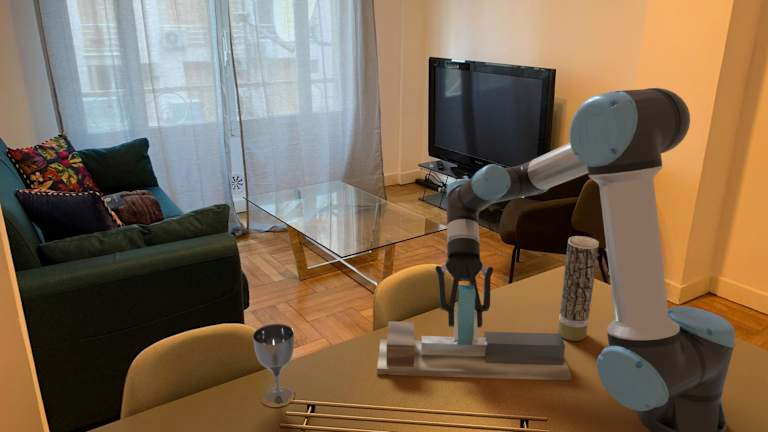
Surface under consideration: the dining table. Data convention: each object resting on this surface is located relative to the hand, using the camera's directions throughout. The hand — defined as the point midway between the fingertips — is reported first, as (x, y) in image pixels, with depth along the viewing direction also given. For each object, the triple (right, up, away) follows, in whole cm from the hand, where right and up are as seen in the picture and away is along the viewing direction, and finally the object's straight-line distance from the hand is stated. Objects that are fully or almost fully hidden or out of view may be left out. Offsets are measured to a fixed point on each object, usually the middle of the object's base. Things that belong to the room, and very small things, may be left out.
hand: (465, 341), depth 125 cm
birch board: (+2, -6, +6) cm, 9 cm away
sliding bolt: (+4, -4, +5) cm, 8 cm away
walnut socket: (-14, -4, +6) cm, 16 cm away
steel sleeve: (+14, -5, +5) cm, 15 cm away
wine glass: (-40, -10, -6) cm, 42 cm away
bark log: (+29, -2, +17) cm, 33 cm away
